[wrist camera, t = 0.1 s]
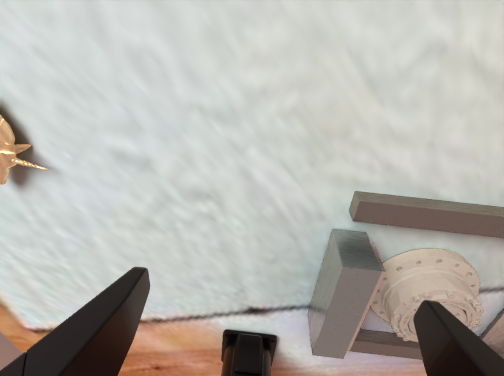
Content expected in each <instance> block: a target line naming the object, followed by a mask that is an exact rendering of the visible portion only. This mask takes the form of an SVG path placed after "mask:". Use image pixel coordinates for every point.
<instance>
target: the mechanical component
mask: <svg viewBox="0 0 504 376" xmlns="http://www.w3.org/2000/svg"><path fill="white" fill-rule="evenodd" d="M382 264H383V266H384V269H385V271H386V273H385V275H384V277H383V280H382V282H381V284H380V286H379V288H378V290H377V293H376V295H375V297H374V299H373V301H372V303H371V308H372V310H373V311H374V312H375V313H376V314H377V315H378V317H380V318H382V319H384V320H385V321H387V322H390V324H391V326H392V329H393V331H394V332H396V334H397V336H398V337H403V340H404V341H409V340H411V341H415V342H418V339H417V335H416V330H415V326H414V322H413V318H414V314H415V313H416V311H417V309H418V308H419V306H420V304H421V302H422V301H424V300H432V301H437V302H439V303H440V304H442V305H443V306H444V307H445V308H446V309H447V310H448V311H450V312H451V313H452V314H453V315H454V316H455V317H456V318H458V319H459V320H460V321H461V322H462V323H463V324H464V325H466V326H467V327H468V328H469V329H471V328H472V327H473V326H479V325H480V322H479V321H478V320H479V318H480V316H481V313H482V312H483V311H484V310H483V309H482V307H481V304H480V303H479V301H478V300H477V298H476V296H477V295H478V292H479V286H480V281H479V279H478V276H477V274H476V272H475V270H474V269H473V268H472V267H471V266H470V265H469V264H468V263H467V261H466V260H465V259H464V258H463V257H461V256H459V255H458V254H456V253H453V252H450V251H447V250H443V249H429V248H427V249H419V250H411V251H408V252H405V253H402V254H400V255H397V256H394V257H392V258H391V259H389V260H387V261H385V262H384V263H382Z"/></svg>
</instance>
